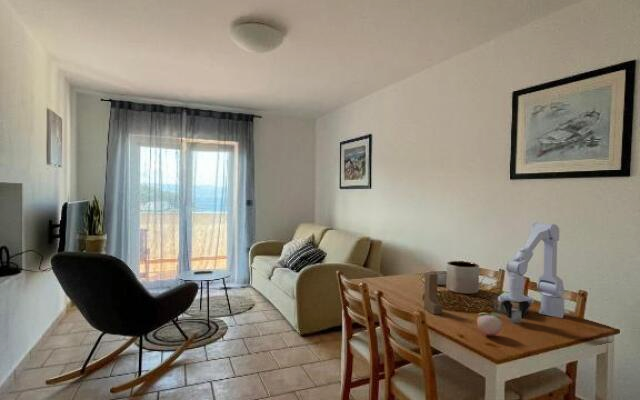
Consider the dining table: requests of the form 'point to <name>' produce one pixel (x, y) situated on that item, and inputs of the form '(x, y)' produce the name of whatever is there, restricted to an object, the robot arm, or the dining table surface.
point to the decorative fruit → (489, 323)
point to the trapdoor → (508, 295)
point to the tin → (441, 277)
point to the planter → (462, 277)
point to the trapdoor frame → (501, 307)
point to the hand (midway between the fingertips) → (515, 317)
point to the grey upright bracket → (431, 294)
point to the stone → (516, 316)
